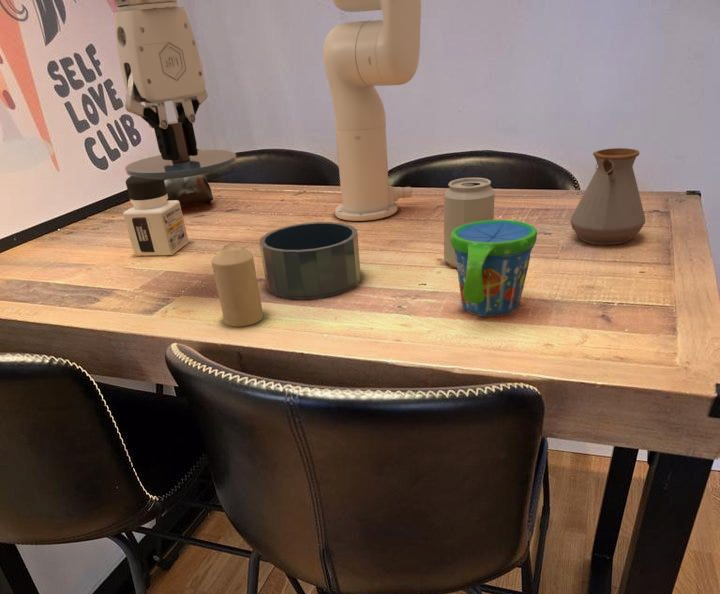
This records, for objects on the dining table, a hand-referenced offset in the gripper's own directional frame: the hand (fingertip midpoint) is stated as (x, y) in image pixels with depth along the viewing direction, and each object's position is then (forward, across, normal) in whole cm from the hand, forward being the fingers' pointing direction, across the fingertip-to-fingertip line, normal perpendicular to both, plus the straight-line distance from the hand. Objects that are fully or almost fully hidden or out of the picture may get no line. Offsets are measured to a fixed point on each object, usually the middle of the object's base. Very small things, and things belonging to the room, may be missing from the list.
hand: (180, 156), depth 92 cm
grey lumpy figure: (+19, +31, +47) cm, 60 cm away
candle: (+19, -6, -16) cm, 25 cm away
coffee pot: (+19, +43, -46) cm, 66 cm away
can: (+19, +28, -31) cm, 45 cm away
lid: (+1, 0, 0) cm, 1 cm away
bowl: (+19, +10, -14) cm, 25 cm away
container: (+19, +9, +24) cm, 32 cm away
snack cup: (+19, +14, -43) cm, 49 cm away
